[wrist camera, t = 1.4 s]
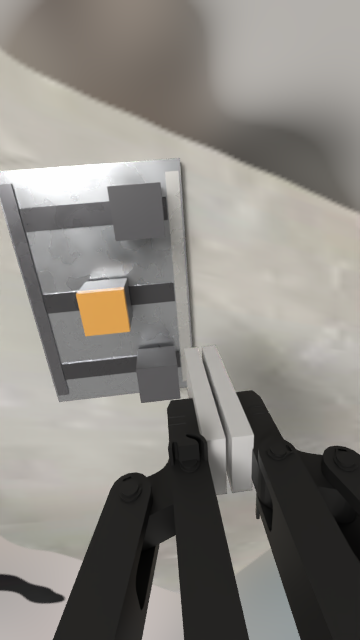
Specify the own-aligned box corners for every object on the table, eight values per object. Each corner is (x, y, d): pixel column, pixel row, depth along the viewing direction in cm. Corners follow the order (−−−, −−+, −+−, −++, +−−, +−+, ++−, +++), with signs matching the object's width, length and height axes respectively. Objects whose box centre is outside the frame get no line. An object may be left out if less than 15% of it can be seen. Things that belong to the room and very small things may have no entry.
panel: (62, 393, 35) (58, 403, 34) (0, 173, 26) (-10, 171, 24) (193, 379, 36) (195, 387, 34) (178, 160, 27) (180, 157, 25)
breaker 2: (142, 380, 33) (141, 402, 29) (137, 349, 31) (135, 369, 28) (177, 376, 33) (180, 398, 30) (174, 345, 32) (177, 364, 28)
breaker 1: (120, 235, 27) (115, 241, 23) (113, 188, 25) (106, 186, 22) (163, 231, 27) (165, 236, 23) (159, 184, 25) (160, 182, 22)
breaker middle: (93, 319, 30) (85, 336, 26) (85, 281, 28) (75, 294, 24) (132, 315, 30) (129, 331, 26) (127, 277, 28) (123, 289, 25)
